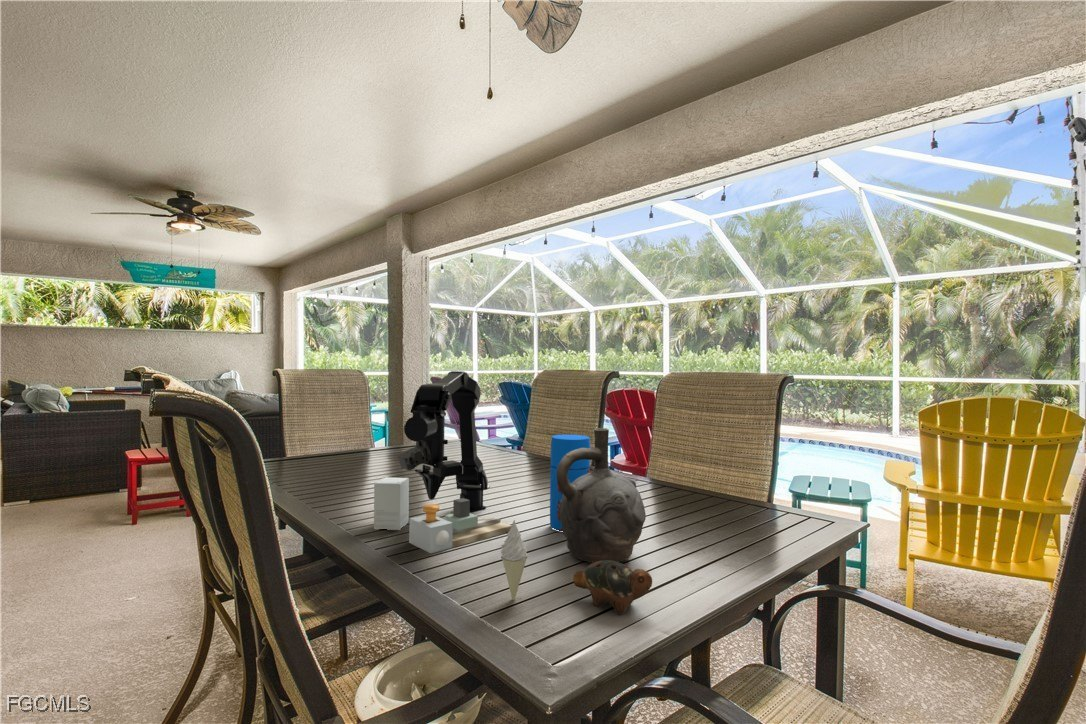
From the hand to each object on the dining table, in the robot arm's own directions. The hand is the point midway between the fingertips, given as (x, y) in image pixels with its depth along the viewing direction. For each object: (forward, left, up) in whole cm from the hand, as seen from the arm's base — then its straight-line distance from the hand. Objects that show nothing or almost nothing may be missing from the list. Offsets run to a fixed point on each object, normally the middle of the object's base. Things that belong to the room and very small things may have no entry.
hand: (431, 499), depth 126 cm
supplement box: (0, -20, -12) cm, 23 cm away
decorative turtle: (-8, +50, -12) cm, 52 cm away
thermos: (-36, +13, -11) cm, 40 cm away
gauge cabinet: (0, 0, -11) cm, 11 cm away
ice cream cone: (+4, +36, -11) cm, 38 cm away
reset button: (0, 0, -6) cm, 6 cm away
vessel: (-25, +32, -12) cm, 42 cm away
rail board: (-12, 0, -11) cm, 17 cm away
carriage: (-9, 0, -8) cm, 12 cm away
